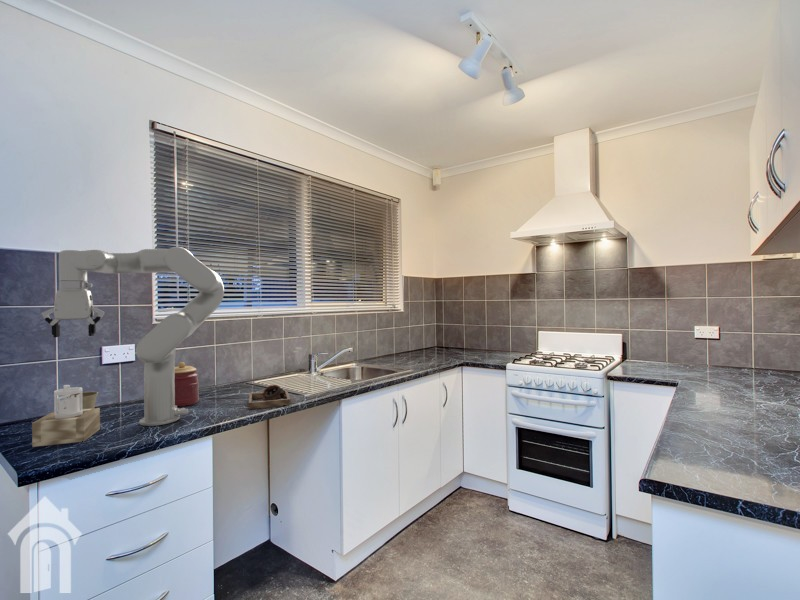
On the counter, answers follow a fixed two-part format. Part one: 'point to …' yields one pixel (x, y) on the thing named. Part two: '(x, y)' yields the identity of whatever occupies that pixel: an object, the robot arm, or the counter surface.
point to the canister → (186, 385)
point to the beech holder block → (65, 428)
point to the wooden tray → (267, 403)
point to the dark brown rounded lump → (273, 393)
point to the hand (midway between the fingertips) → (74, 336)
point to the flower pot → (88, 399)
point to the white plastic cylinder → (68, 402)
